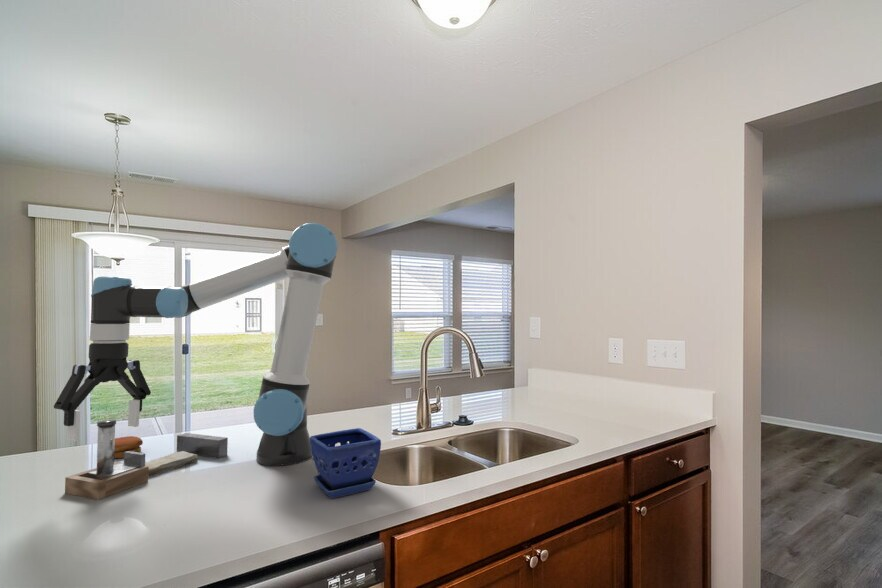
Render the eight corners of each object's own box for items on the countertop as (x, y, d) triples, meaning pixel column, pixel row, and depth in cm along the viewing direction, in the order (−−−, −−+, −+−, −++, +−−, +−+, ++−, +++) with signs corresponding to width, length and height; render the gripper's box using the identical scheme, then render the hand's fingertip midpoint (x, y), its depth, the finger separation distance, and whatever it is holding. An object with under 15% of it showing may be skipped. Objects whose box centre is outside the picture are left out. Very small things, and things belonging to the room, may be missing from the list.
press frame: (148, 481, 108) (148, 466, 108) (98, 499, 97) (98, 483, 97) (116, 475, 112) (117, 461, 112) (64, 493, 101) (65, 477, 101)
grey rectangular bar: (227, 455, 128) (227, 437, 128) (218, 458, 125) (219, 440, 125) (185, 449, 133) (186, 432, 134) (176, 452, 131) (177, 435, 131)
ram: (146, 474, 110) (147, 415, 110) (107, 488, 101) (109, 424, 102) (126, 470, 112) (128, 413, 113) (86, 484, 103) (88, 421, 104)
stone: (143, 480, 110) (143, 470, 110) (123, 472, 116) (124, 462, 116) (202, 463, 123) (202, 453, 123) (182, 456, 128) (182, 447, 128)
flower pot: (325, 505, 94) (325, 448, 95) (308, 485, 106) (308, 434, 106) (382, 492, 102) (382, 439, 102) (360, 474, 113) (360, 426, 113)
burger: (135, 457, 126) (136, 441, 127) (96, 461, 123) (97, 444, 124) (146, 448, 136) (146, 432, 136) (110, 451, 133) (110, 435, 133)
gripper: (148, 339, 118) (144, 419, 117) (36, 344, 95) (30, 445, 94) (168, 340, 116) (165, 422, 115) (59, 345, 92) (53, 449, 91)
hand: (104, 432), depth 104 cm, fingers open, 13 cm apart
